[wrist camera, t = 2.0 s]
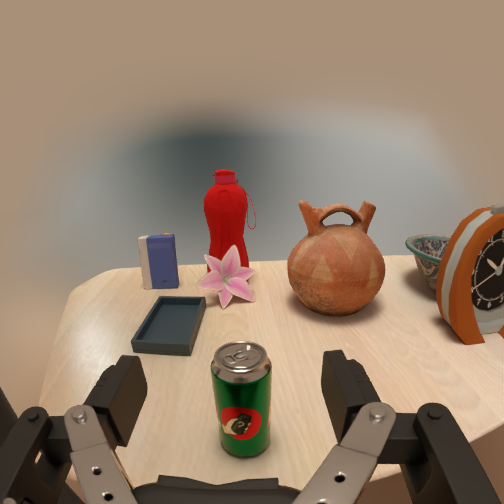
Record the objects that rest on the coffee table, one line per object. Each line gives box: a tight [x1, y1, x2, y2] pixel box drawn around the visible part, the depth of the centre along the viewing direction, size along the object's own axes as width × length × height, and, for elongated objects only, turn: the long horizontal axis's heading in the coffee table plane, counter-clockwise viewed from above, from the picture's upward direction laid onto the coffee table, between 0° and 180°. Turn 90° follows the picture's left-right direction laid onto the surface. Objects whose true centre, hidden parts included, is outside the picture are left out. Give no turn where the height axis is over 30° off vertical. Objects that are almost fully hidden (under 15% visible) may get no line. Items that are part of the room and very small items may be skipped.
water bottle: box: [204, 170, 251, 282], centre depth 67 cm, size 9×11×25 cm
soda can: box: [211, 341, 272, 457], centre depth 26 cm, size 5×5×12 cm
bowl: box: [405, 235, 451, 291], centre depth 60 cm, size 25×25×10 cm
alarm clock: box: [436, 204, 504, 345], centre depth 40 cm, size 22×10×23 cm, turn 84°
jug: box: [288, 200, 385, 316], centre depth 55 cm, size 18×18×20 cm
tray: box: [131, 296, 206, 356], centre depth 50 cm, size 16×9×2 cm, turn 179°
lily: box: [196, 245, 255, 309], centre depth 61 cm, size 12×12×10 cm
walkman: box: [138, 233, 179, 289], centre depth 66 cm, size 8×3×12 cm, turn 94°
